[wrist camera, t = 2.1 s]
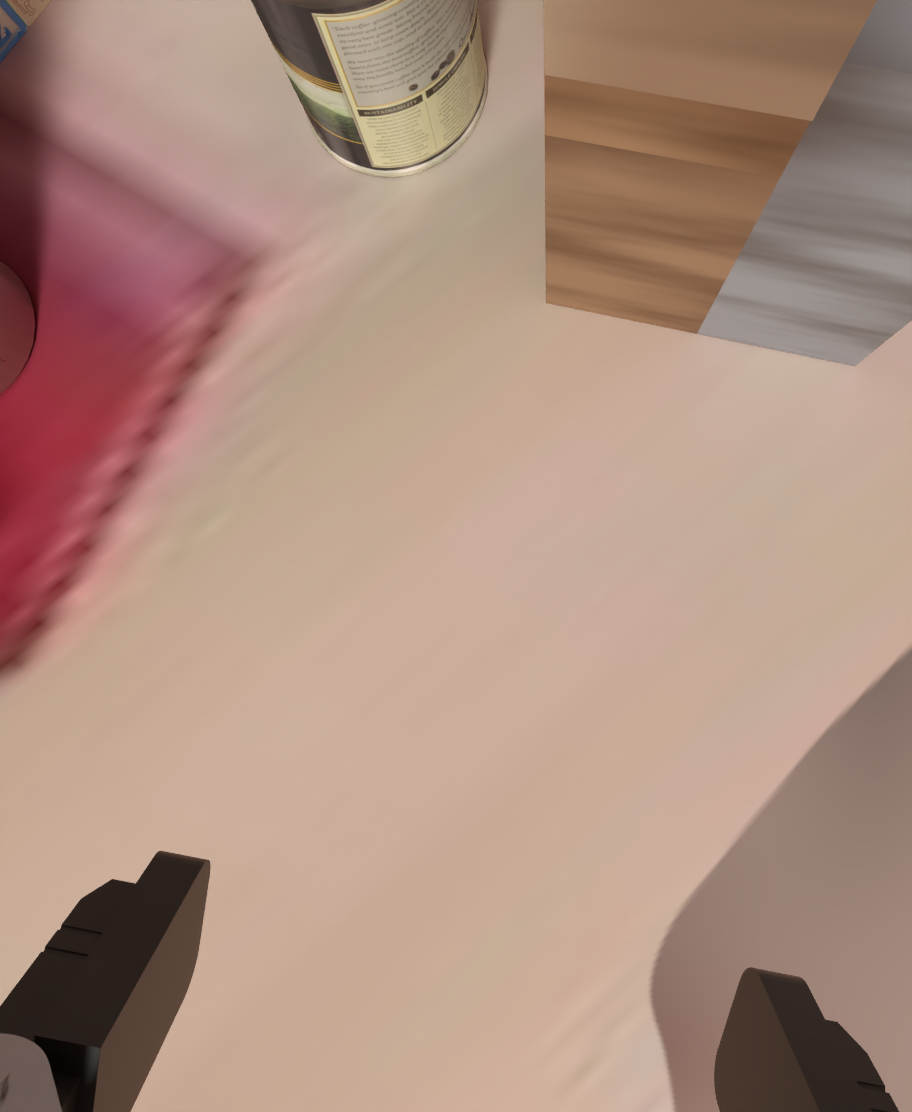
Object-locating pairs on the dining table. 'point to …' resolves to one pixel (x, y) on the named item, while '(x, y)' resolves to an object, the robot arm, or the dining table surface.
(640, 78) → the birch bar
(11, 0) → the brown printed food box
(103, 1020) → the robot arm
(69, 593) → the dining table surface
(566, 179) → the stepped stand
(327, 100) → the coffee can
